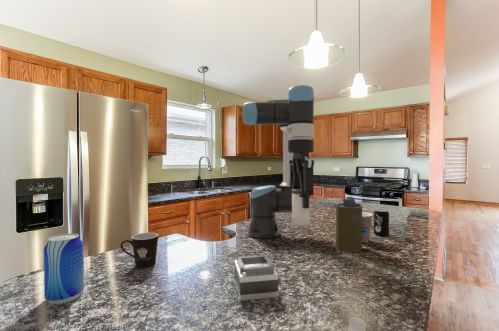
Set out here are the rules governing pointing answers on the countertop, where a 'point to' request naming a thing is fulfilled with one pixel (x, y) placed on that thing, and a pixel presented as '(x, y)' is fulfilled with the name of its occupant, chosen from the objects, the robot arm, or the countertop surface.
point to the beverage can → (381, 222)
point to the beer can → (63, 268)
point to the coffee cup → (366, 226)
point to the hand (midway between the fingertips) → (300, 217)
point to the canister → (349, 225)
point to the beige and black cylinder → (297, 208)
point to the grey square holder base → (255, 277)
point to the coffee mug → (143, 249)
